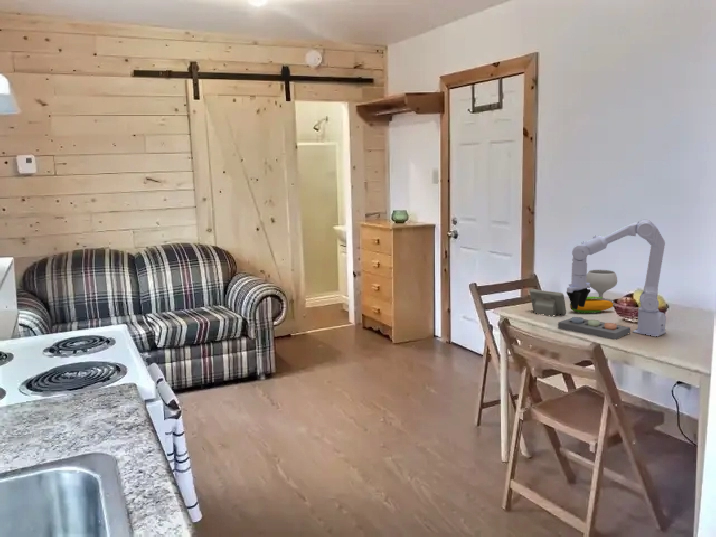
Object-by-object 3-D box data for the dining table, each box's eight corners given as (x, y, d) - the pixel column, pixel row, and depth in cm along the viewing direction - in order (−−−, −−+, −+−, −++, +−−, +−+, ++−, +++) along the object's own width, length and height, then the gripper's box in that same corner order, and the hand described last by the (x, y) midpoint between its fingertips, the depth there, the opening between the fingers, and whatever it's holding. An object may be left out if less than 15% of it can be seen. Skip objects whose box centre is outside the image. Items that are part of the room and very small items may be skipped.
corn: (567, 294, 280) (610, 293, 281) (566, 311, 281) (609, 309, 282) (573, 299, 272) (618, 297, 273) (572, 316, 274) (616, 314, 275)
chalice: (613, 307, 287) (614, 275, 284) (581, 304, 294) (583, 272, 292) (618, 301, 299) (620, 270, 296) (588, 298, 306) (589, 268, 303)
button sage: (601, 327, 247) (601, 321, 247) (595, 329, 244) (596, 323, 244) (591, 325, 250) (591, 319, 250) (585, 327, 248) (585, 321, 247)
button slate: (585, 324, 252) (585, 318, 252) (579, 326, 250) (579, 320, 249) (575, 322, 256) (575, 316, 255) (569, 324, 253) (569, 318, 252)
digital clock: (568, 315, 273) (569, 291, 272) (555, 318, 268) (556, 294, 267) (538, 309, 287) (539, 286, 285) (525, 312, 282) (526, 289, 280)
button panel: (630, 333, 243) (630, 327, 242) (615, 339, 235) (615, 333, 234) (573, 322, 260) (574, 317, 260) (558, 328, 253) (558, 322, 252)
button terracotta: (618, 330, 242) (618, 324, 242) (613, 332, 239) (613, 326, 239) (607, 328, 245) (608, 322, 245) (602, 330, 242) (602, 324, 242)
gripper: (579, 271, 257) (578, 303, 259) (560, 275, 248) (559, 308, 250) (595, 273, 252) (594, 305, 254) (576, 277, 242) (575, 311, 245)
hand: (577, 307), depth 252 cm, fingers open, 5 cm apart
